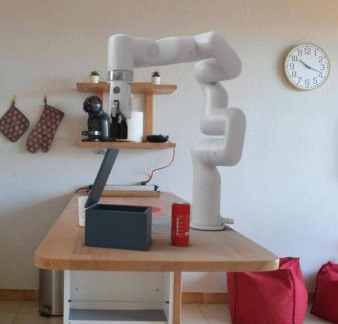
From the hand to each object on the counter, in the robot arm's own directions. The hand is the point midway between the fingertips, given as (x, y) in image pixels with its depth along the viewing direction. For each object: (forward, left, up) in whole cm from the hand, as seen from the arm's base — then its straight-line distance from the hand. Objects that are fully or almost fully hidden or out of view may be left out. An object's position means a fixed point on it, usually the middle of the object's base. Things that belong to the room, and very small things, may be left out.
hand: (119, 138), depth 112 cm
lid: (+4, +1, -11) cm, 12 cm away
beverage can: (-18, -3, -30) cm, 35 cm away
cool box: (-1, +1, -30) cm, 30 cm away
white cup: (+14, -21, -30) cm, 40 cm away
